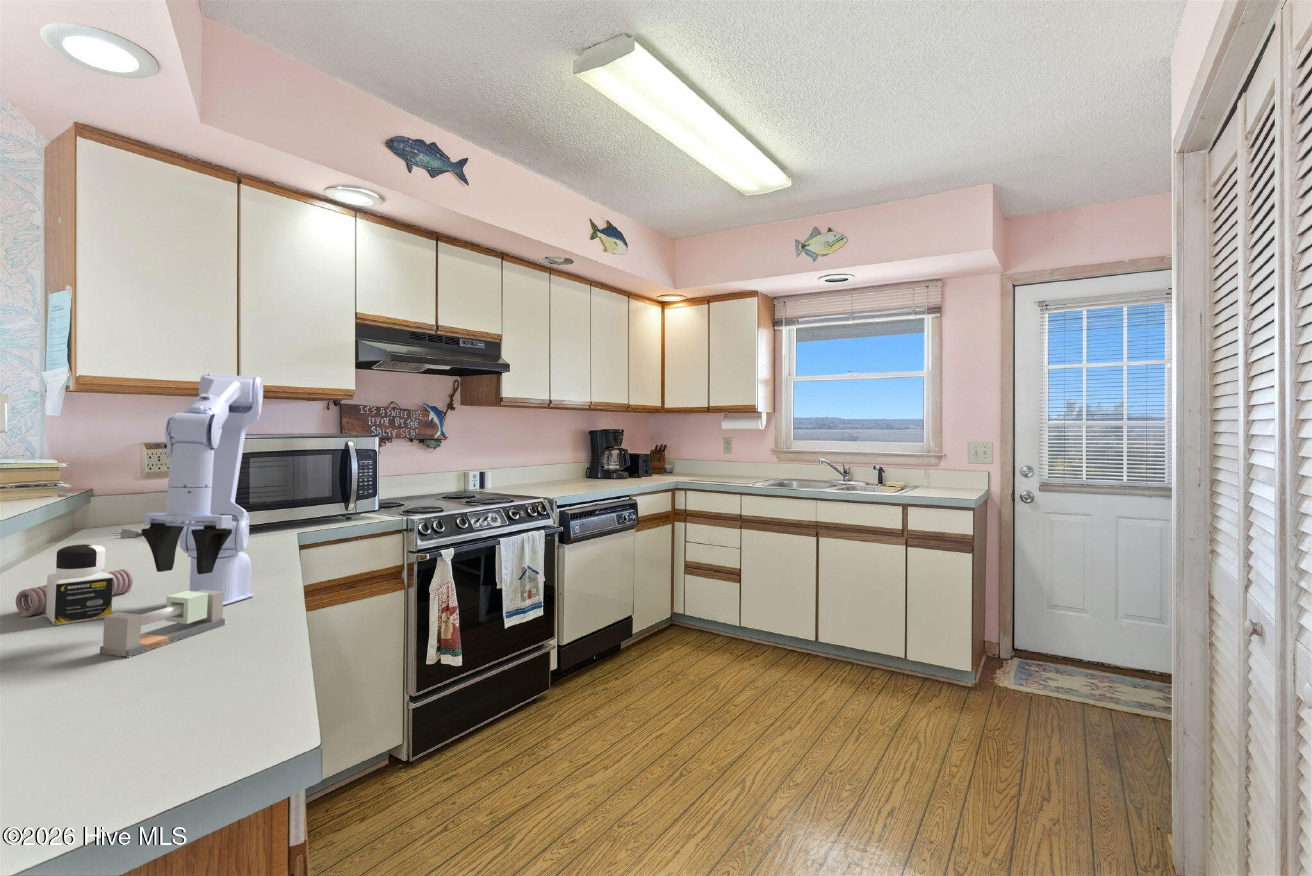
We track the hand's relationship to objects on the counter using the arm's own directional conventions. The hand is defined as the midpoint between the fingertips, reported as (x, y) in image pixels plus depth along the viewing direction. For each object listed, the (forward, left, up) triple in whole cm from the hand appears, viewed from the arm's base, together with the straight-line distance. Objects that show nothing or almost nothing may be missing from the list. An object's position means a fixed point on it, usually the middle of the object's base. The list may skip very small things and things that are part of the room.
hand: (184, 572), depth 100 cm
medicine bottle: (-1, -22, -10) cm, 24 cm away
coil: (-7, -30, -10) cm, 32 cm away
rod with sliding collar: (+3, 0, -10) cm, 10 cm away
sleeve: (-1, 0, -8) cm, 8 cm away
